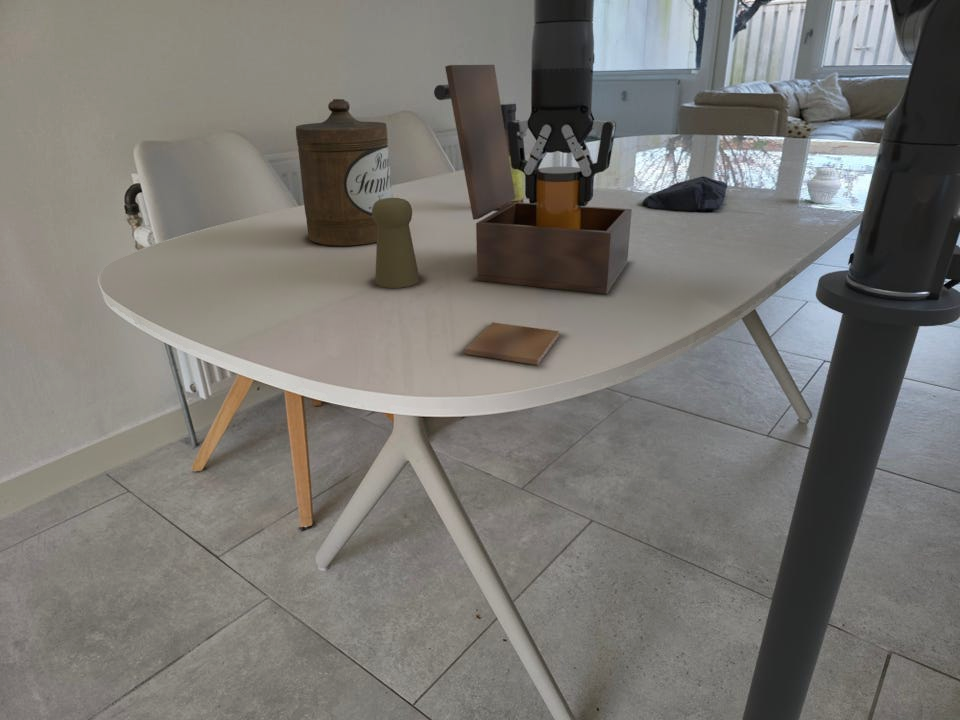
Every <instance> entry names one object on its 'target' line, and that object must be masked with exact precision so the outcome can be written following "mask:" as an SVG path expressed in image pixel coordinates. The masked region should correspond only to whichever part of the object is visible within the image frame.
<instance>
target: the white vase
mask: <svg viewBox="0 0 960 720" xmlns="http://www.w3.org/2000/svg"><path fill="white" fill-rule="evenodd" d="M806 187H807V193H808V196H809V198H810V199H809V200H810V202H811V203H815V204H822V205H823V204H829V203H831V201H832V200H833V199H834V197H836V195H837V194H838V193H839V190H840V189H841V188H842V182H841V180H840V179H839V177H838V176H837V171H836V169H835V168H832V167H829V166H827V167H822V168H819V169H818V170H817V171H816V174H814V175H813V177H812V178H811V179H809V180H808V181H807V183H806Z"/></svg>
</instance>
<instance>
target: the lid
mask: <svg viewBox="0 0 960 720" xmlns="http://www.w3.org/2000/svg"><path fill="white" fill-rule="evenodd" d="M444 69H445V74H446V79H447V84H438V85H436V86H435V88H434V90H433V95H434V97H435V99H436V100H438V101H446V100H450V101H451V107H452V111H453V117H454V118H453V119H454V123H455V129H456V133H457V139H458V145H459V149H460V150H459V152H460V155H461V160H462V161H461V162H462V166H463V172H464V177H465V182H466V183H465V184H466V187H467V193H468V200H469V205H470V209H471V215H472V220H473V221H475V220H480V219H482V218H483V217H485V216H486V215H488V214H490V213H492V212H494V211H496V210H498V209H497V208H499V207H501V206H503V205H505V204H506V203H508V202H510V201H512V200H514V199H515V193H514V186H513V180H512V174H511V167H510V161H509V154H508V148H507V142H506V135H505V129H504V123H503V116H502V110H501V104H500V103H501V98H500V90H499V86H498V85H499V84H498V79H497V72H496V66H495V64H449V65H445V66H444Z"/></svg>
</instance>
